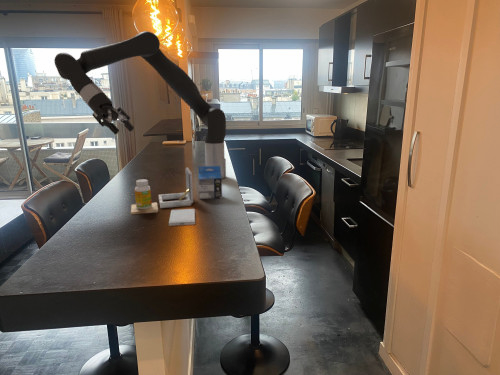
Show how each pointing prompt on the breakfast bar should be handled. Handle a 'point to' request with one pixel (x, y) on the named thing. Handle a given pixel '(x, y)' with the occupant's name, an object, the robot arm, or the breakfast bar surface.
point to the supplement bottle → (143, 194)
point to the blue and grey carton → (210, 182)
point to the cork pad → (140, 211)
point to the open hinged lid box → (179, 195)
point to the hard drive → (182, 217)
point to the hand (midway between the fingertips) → (125, 131)
